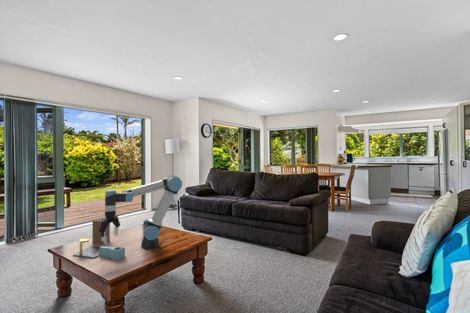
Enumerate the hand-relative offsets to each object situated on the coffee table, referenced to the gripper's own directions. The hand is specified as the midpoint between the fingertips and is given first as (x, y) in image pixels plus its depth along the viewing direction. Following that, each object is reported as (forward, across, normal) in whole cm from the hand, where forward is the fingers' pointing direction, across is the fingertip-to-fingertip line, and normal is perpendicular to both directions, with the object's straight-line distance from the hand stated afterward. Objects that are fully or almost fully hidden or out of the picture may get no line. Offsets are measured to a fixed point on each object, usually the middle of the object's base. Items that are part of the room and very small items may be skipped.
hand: (109, 238), depth 189 cm
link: (+14, 0, +1) cm, 14 cm away
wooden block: (+15, -26, -30) cm, 43 cm away
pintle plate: (+14, -4, -19) cm, 24 cm away
